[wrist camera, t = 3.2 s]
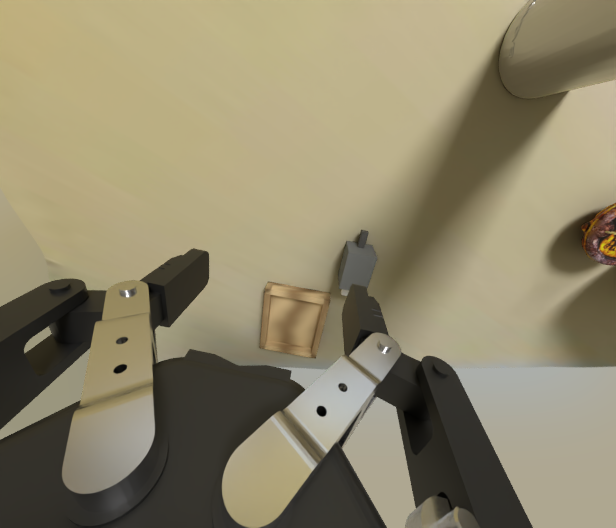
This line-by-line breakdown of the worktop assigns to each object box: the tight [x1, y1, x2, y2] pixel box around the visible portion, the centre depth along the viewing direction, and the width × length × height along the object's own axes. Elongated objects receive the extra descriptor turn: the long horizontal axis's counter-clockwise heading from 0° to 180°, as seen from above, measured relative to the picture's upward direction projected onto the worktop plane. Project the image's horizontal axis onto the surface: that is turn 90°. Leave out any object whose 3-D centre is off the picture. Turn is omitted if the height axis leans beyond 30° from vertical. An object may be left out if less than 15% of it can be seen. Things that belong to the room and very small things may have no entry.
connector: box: [338, 230, 377, 296], centre depth 35 cm, size 4×11×4 cm, turn 171°
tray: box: [260, 282, 330, 358], centre depth 42 cm, size 11×14×2 cm
